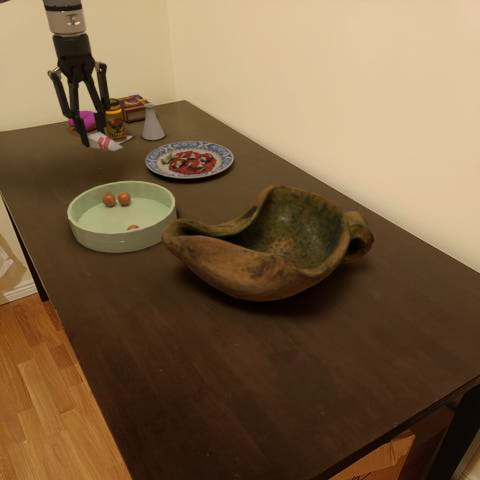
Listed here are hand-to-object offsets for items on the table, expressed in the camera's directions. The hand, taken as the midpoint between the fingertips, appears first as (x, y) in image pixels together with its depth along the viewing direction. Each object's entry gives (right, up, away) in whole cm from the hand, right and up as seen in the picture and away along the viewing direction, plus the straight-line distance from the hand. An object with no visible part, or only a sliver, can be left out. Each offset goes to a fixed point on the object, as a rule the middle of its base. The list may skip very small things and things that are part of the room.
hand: (94, 143), depth 108 cm
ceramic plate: (+22, +1, +20) cm, 29 cm away
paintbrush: (0, -1, 0) cm, 1 cm away
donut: (-17, +23, +42) cm, 51 cm away
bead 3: (+13, -25, -12) cm, 30 cm away
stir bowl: (+9, -21, -4) cm, 24 cm away
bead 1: (+4, -15, -1) cm, 15 cm away
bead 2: (+8, -14, 0) cm, 16 cm away
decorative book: (-3, +32, +51) cm, 60 cm away
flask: (+8, +17, +36) cm, 40 cm away
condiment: (-5, +16, +35) cm, 38 cm away
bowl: (+44, -37, -20) cm, 60 cm away
